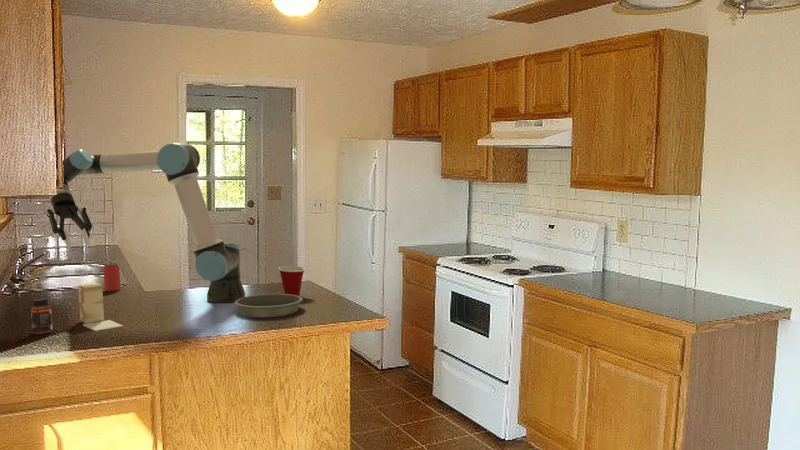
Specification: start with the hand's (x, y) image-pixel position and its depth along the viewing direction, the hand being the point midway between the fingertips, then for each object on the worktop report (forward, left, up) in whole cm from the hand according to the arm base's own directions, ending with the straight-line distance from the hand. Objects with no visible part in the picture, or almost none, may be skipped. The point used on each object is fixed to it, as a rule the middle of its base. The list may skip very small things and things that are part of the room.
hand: (79, 245), depth 241 cm
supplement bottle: (-2, +22, -27) cm, 35 cm away
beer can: (+22, -50, -27) cm, 61 cm away
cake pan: (-64, -20, -27) cm, 72 cm away
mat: (-16, +11, -26) cm, 33 cm away
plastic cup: (-63, -47, -27) cm, 82 cm away
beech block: (-8, +5, -26) cm, 28 cm away
